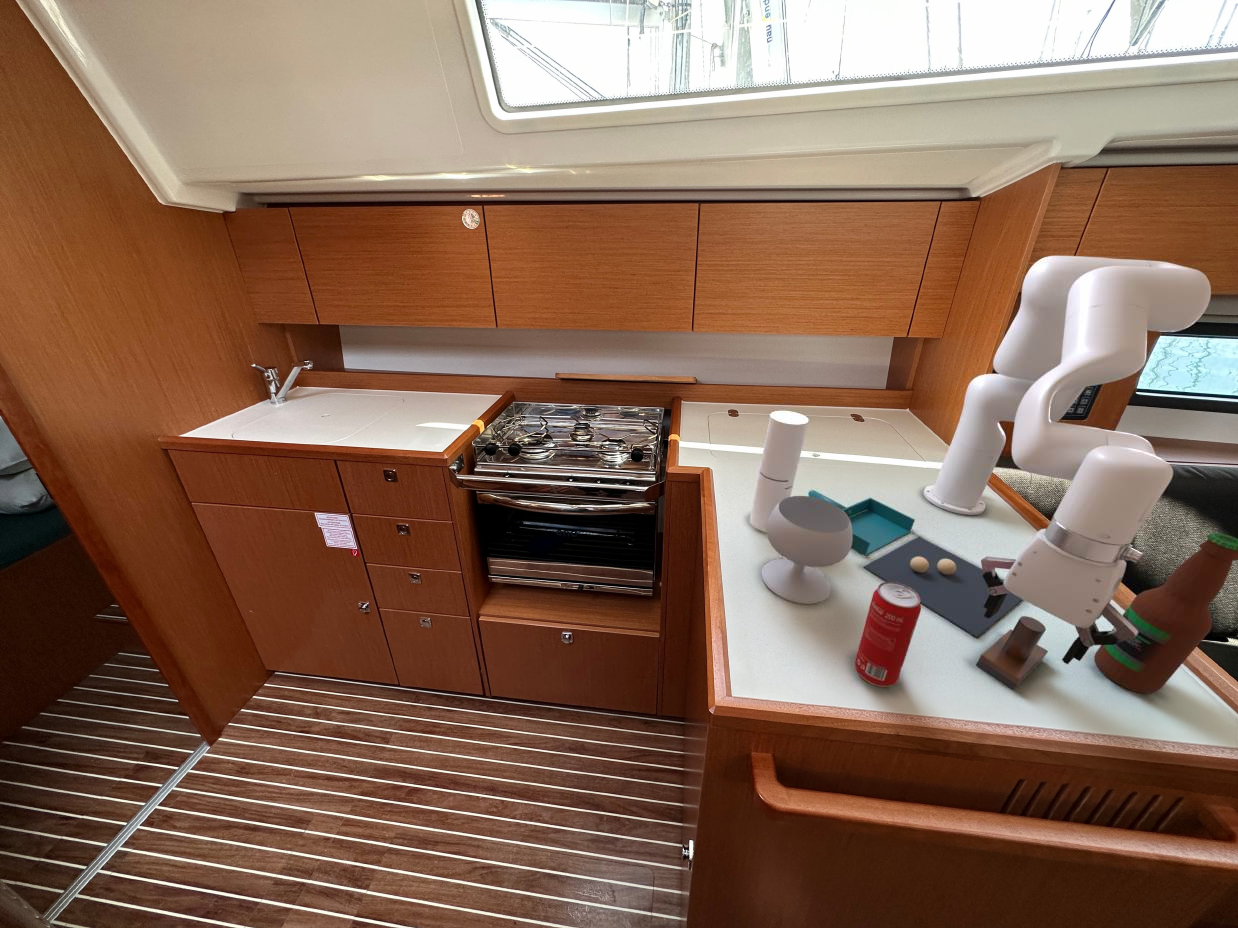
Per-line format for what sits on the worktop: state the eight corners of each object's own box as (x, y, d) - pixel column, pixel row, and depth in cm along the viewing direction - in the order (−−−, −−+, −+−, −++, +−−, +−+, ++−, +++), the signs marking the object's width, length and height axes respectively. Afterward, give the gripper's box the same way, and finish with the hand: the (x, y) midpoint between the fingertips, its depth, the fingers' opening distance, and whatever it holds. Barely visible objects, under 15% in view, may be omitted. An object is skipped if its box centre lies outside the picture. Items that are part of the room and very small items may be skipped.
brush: (1005, 638, 76) (1027, 600, 72) (1042, 660, 72) (1067, 621, 69) (975, 664, 71) (997, 625, 67) (1013, 689, 68) (1039, 649, 64)
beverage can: (902, 692, 66) (938, 614, 60) (853, 683, 67) (883, 605, 61) (889, 659, 72) (921, 583, 65) (844, 651, 73) (871, 575, 66)
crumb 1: (913, 563, 92) (918, 551, 91) (928, 572, 90) (934, 560, 88) (904, 568, 91) (909, 556, 89) (920, 577, 88) (925, 565, 87)
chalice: (741, 565, 90) (754, 499, 83) (799, 551, 95) (816, 487, 88) (789, 617, 78) (809, 544, 72) (853, 598, 83) (877, 528, 76)
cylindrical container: (745, 514, 106) (765, 410, 95) (775, 513, 107) (799, 410, 95) (756, 533, 100) (778, 424, 88) (788, 532, 100) (815, 424, 89)
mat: (918, 537, 101) (918, 536, 100) (1028, 594, 86) (1029, 593, 86) (863, 567, 91) (863, 566, 91) (976, 637, 76) (977, 636, 76)
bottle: (1095, 646, 75) (1187, 516, 64) (1159, 677, 70) (1272, 542, 59) (1087, 671, 71) (1185, 536, 59) (1156, 705, 66) (1276, 565, 55)
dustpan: (910, 532, 102) (915, 519, 101) (864, 556, 94) (869, 542, 93) (829, 490, 117) (832, 478, 116) (784, 507, 109) (787, 495, 108)
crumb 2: (939, 565, 92) (945, 553, 90) (956, 574, 89) (961, 562, 88) (931, 570, 90) (937, 558, 89) (948, 580, 88) (953, 567, 87)
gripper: (1186, 568, 56) (1113, 667, 64) (1018, 501, 69) (974, 591, 77) (1169, 589, 53) (1094, 691, 60) (995, 515, 66) (951, 607, 73)
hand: (1027, 635), depth 69 cm, fingers open, 9 cm apart
